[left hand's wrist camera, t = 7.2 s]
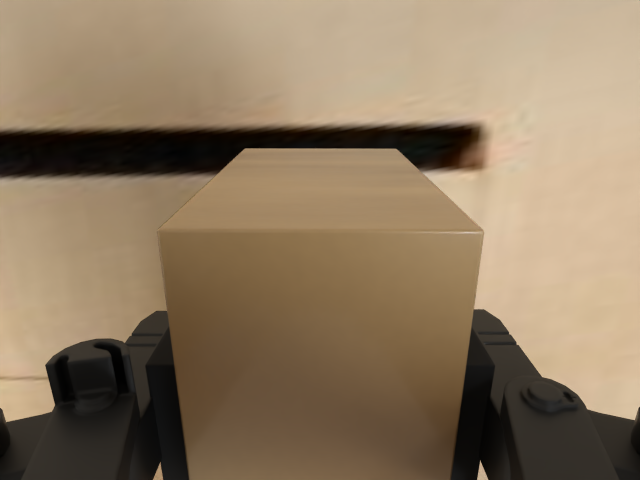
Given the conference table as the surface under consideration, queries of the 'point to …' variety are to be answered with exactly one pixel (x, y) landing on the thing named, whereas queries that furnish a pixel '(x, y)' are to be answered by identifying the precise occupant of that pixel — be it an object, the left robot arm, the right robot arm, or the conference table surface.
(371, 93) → the conference table surface
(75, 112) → the conference table surface
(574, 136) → the conference table surface
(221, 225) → the bar
